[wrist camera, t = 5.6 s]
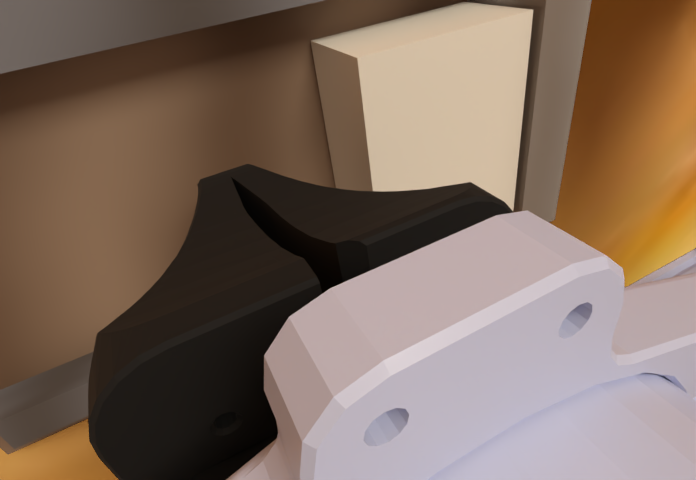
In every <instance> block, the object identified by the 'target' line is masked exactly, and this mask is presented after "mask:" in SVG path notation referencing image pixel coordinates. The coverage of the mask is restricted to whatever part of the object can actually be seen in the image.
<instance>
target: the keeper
mask: <svg viewBox="0 0 696 480" xmlns="http://www.w3.org/2000/svg"><path fill="white" fill-rule="evenodd" d="M532 19H533V10H532V9H523V8H515V7H506V6H497V5H488V4H480V3H471V2H461V3H457V4H453V5H449V6H446V7H442V8H438V9H434V10H430V11H426V12H422V13H418V14H414V15H410V16H406V17H402V18H398V19H394V20H390V21H386V22H382V23H378V24H374V25H370V26H366V27H362V28H358V29H354V30H351V31H347V32H343V33H339V34H335V35H331V36H327V37H323V38H319V39H315V40H311V47H312V52H313V58H314V64H315V70H316V75H317V81H318V87H319V93H320V99H321V104H322V110H323V116H324V122H325V128H326V133H327V139H328V145H329V151H330V156H331V162H332V168H333V174H334V180H335V185H336V188H338V189H346V190H356V191H407V190H420V189H430V188H436V187H442V186H448V185H455V184H461V183H467V182H472V183H473V184H475V185H477V186H478V187H480V188H482V189H483V190H485V191H487V192H489V193H490V194H492V195H494V196H495V197H497V198H499V199H501V200H502V201H504V202H505V203H506V204H507V205H508V206H509V207H510V209H511V210H512V211H513V208H514V198H515V188H516V178H517V168H518V158H519V149H520V139H521V129H522V119H523V109H524V99H525V89H526V79H527V69H528V59H529V49H530V39H531V29H532Z"/></svg>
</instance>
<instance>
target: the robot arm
mask: <svg viewBox="0 0 696 480" xmlns="http://www.w3.org/2000/svg"><path fill="white" fill-rule="evenodd" d="M197 186H198V198H197V204H196V208H195V213H194V217H193V220H192V223H191V226H190V228H189V231H188V234H187V236H186V239H185V241H184V243H183V245H182V247H181V249H180V251H179V252H178V254H177V256H176V257H175V259H174V260H173V261H172V263H171V264H170V265H169V267H168V268H167V269H166V271H165V272H164V273H163V275H162V276H161V277H160V278H159V279H158V281H157V282H156V283H155V284H154V285H153V286H152V287H151V288H150V289H149V290H148V291H147V292H146V293H145V294H144V295H143V296H142V297H141V298H140V299H139V300H138V301H137V302H136V303H135V304H133V305H132V306H131V307H130V308H129V309H127V310H126V311H125V312H124V313H122V314H121V315H120V316H119V317H117V318H116V319H115V320H114V321H112V322H111V323H110V324H109V325H107V326H106V327H105V328H103V329H102V330H101V331H99V332H98V333H97V335H96V340H95V346H94V351H93V357H92V361H91V368H90V374H89V382H88V422H89V439H90V443H91V445H92V446H93V448H94V450H95V452H96V453H97V455H98V457H99V458H100V459H101V461H102V462H103V463H104V464H105V465H106V466H107V467H108V468H109V469H110V470H111V472H112V473H113V474H114V475H115V476H116V477H117V478H118V479H119V480H696V248H695V249H694V250H692V251H690V252H688V253H686V254H685V255H683V256H681V257H679V258H677V259H676V260H674V261H672V262H670V263H668V264H667V265H665V266H663V267H661V268H660V269H658V270H656V271H654V272H652V273H651V274H649V275H647V276H645V277H643V278H642V279H640V280H638V281H636V282H634V283H633V284H631V285H629V286H627V287H624V273H623V268H621V267H620V266H619V265H618V264H616V263H615V262H614V261H613V260H611V259H610V258H609V257H608V256H606V255H605V254H603V253H601V252H599V251H598V250H596V249H594V248H592V247H591V246H589V245H587V244H585V243H584V242H582V241H580V240H578V239H577V238H575V237H573V236H571V235H570V234H568V233H566V232H564V231H563V230H561V229H559V228H557V227H556V226H554V225H552V224H550V223H549V222H547V221H545V220H543V219H542V218H540V217H538V216H536V215H535V214H533V213H531V212H529V211H528V210H526V211H520V212H513V211H512V210H511V209H510V207H509V206H508V205H507V204H506V203H505V202H504V201H502V200H501V199H499V198H497V197H495V196H494V195H492V194H490V193H489V192H487V191H485V190H483V189H482V188H480V187H478V186H477V185H475V184H473V183H472V182H467V183H461V184H455V185H448V186H442V187H436V188H430V189H420V190H407V191H356V190H346V189H338V188H330V187H325V186H319V185H315V184H311V183H307V182H303V181H299V180H296V179H292V178H289V177H286V176H283V175H280V174H277V173H274V172H271V171H268V170H266V169H263V168H260V167H257V166H254V165H251V164H245V165H242V166H239V167H236V168H233V169H230V170H227V171H224V172H221V173H218V174H215V175H212V176H209V177H206V178H203V179H200V181H199V183H198V184H197Z"/></svg>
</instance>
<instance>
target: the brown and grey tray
mask: <svg viewBox="0 0 696 480" xmlns="http://www.w3.org/2000/svg"><path fill="white" fill-rule="evenodd" d="M591 1H592V0H0V448H1V449H2V450H3V451H5V452H6V453H7V454H10V453H13V452H15V451H17V450H19V449H21V448H24V447H26V446H28V445H30V444H32V443H35V442H37V441H39V440H41V439H44V438H46V437H48V436H50V435H52V434H55V433H57V432H59V431H61V430H64V429H66V428H68V427H70V426H72V425H75V424H77V423H79V422H81V421H84V420H86V419H88V382H89V374H90V368H91V361H92V357H93V351H94V346H95V340H96V335H97V333H98V332H99V331H101V330H102V329H103V328H105V327H106V326H107V325H109V324H110V323H111V322H112V321H114V320H115V319H116V318H117V317H119V316H120V315H121V314H122V313H124V312H125V311H126V310H127V309H129V308H130V307H131V306H132V305H133V304H135V303H136V302H137V301H138V300H139V299H140V298H141V297H142V296H143V295H144V294H145V293H146V292H147V291H148V290H149V289H150V288H151V287H152V286H153V285H154V284H155V283H156V282H157V281H158V279H159V278H160V277H161V276H162V275H163V273H164V272H165V271H166V269H167V268H168V267H169V265H170V264H171V263H172V261H173V260H174V259H175V257H176V256H177V254H178V252H179V251H180V249H181V247H182V245H183V243H184V241H185V239H186V236H187V234H188V231H189V228H190V226H191V223H192V220H193V217H194V213H195V208H196V204H197V198H198V186H197V184H198V183H199V181H200V179H203V178H206V177H209V176H212V175H215V174H218V173H221V172H224V171H227V170H230V169H233V168H236V167H239V166H242V165H245V164H251V165H254V166H257V167H260V168H263V169H266V170H268V171H271V172H274V173H277V174H280V175H283V176H286V177H289V178H292V179H296V180H299V181H303V182H307V183H311V184H315V185H319V186H325V187H330V188H336V185H335V180H334V174H333V168H332V162H331V156H330V151H329V145H328V139H327V133H326V128H325V122H324V116H323V110H322V104H321V99H320V93H319V87H318V81H317V75H316V70H315V64H314V58H313V52H312V47H311V40H315V39H319V38H323V37H327V36H331V35H335V34H339V33H343V32H347V31H351V30H354V29H358V28H362V27H366V26H370V25H374V24H378V23H382V22H386V21H390V20H394V19H398V18H402V17H406V16H410V15H414V14H418V13H422V12H426V11H430V10H434V9H438V8H442V7H446V6H449V5H453V4H457V3H461V2H471V3H480V4H488V5H497V6H506V7H515V8H523V9H532V10H533V19H532V29H531V39H530V49H529V59H528V69H527V79H526V89H525V99H524V109H523V119H522V129H521V139H520V149H519V158H518V168H517V178H516V188H515V198H514V208H513V212H520V211H526V210H528V211H529V212H531V213H533V214H535V215H536V216H538V217H540V218H542V219H543V220H545V221H547V222H551V221H553V220H555V215H556V209H557V203H558V197H559V191H560V185H561V179H562V173H563V168H564V162H565V156H566V150H567V144H568V138H569V132H570V126H571V120H572V114H573V108H574V102H575V96H576V90H577V84H578V78H579V72H580V67H581V61H582V55H583V49H584V43H585V37H586V31H587V25H588V19H589V13H590V7H591Z"/></svg>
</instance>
